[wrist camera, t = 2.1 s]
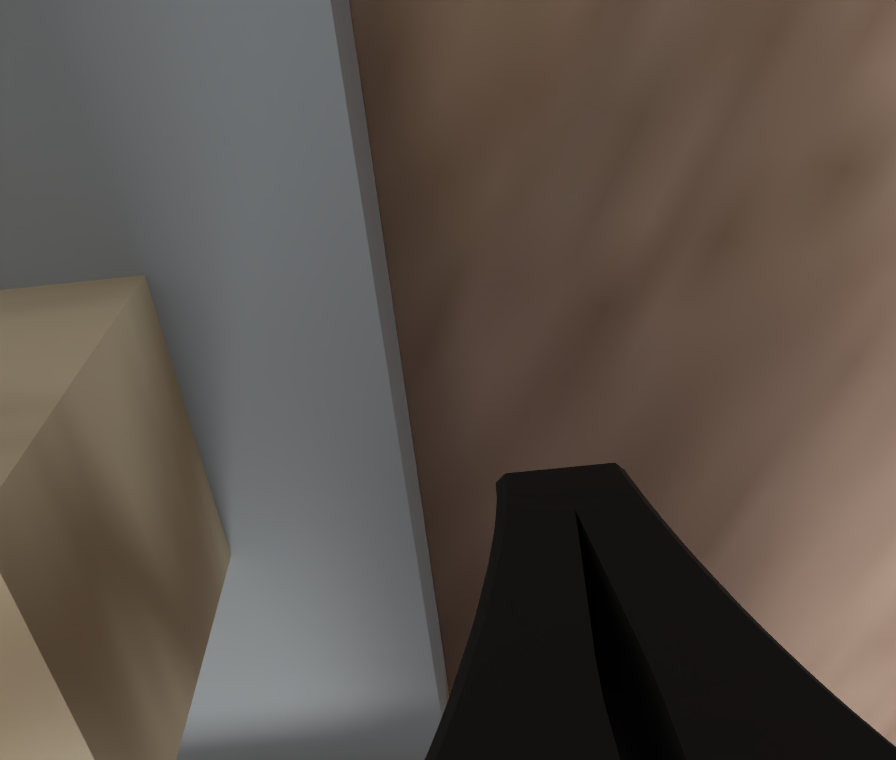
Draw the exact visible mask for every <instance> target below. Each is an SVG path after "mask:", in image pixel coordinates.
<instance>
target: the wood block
mask: <svg viewBox="0 0 896 760" xmlns="http://www.w3.org/2000/svg"><path fill="white" fill-rule="evenodd" d="M230 558H231V554H230V551H229V547H228V544H227V541H226V538H225V534H224V531H223V528H222V525H221V521H220V518H219V515H218V512H217V508H216V505H215V502H214V499H213V495H212V492H211V489H210V486H209V482H208V479H207V476H206V473H205V469H204V466H203V463H202V460H201V456H200V453H199V450H198V447H197V443H196V440H195V437H194V434H193V430H192V427H191V424H190V421H189V417H188V414H187V411H186V408H185V404H184V401H183V398H182V395H181V391H180V388H179V385H178V382H177V378H176V375H175V372H174V369H173V366H172V362H171V359H170V356H169V353H168V349H167V346H166V343H165V340H164V336H163V333H162V330H161V327H160V323H159V320H158V317H157V314H156V310H155V307H154V304H153V301H152V297H151V294H150V291H149V288H148V284H147V281H146V278H145V275H140V276H130V277H121V278H111V279H101V280H92V281H82V282H73V283H63V284H54V285H44V286H34V287H25V288H15V289H6V290H0V760H176V759H177V755H178V751H179V748H180V744H181V740H182V736H183V733H184V729H185V725H186V722H187V718H188V714H189V710H190V707H191V703H192V699H193V696H194V692H195V688H196V684H197V681H198V677H199V673H200V670H201V666H202V662H203V658H204V655H205V651H206V647H207V644H208V640H209V636H210V632H211V629H212V625H213V621H214V618H215V614H216V610H217V606H218V603H219V599H220V595H221V592H222V588H223V584H224V580H225V577H226V573H227V569H228V566H229V562H230Z"/></svg>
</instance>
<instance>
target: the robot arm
mask: <svg viewBox="0 0 896 760" xmlns="http://www.w3.org/2000/svg"><path fill="white" fill-rule="evenodd" d="M496 492H497V508H496V521H495V529H494V536H493V542H492V547H491V553H490V559H489V564H488V568H487V572H486V576H485V580H484V584H483V588H482V592H481V596H480V600H479V604H478V608H477V612H476V616H475V620H474V623H473V627H472V630H471V633H470V636H469V639H468V642H467V645H466V648H465V651H464V654H463V658H462V661H461V664H460V667H459V670H458V673H457V676H456V679H455V682H454V685H453V688H452V691H451V694H450V697H449V699H448V702H447V705H446V707H445V710H444V713H443V715H442V718H441V720H440V723H439V726H438V728H437V731H436V733H435V736H434V738H433V741H432V743H431V746H430V748H429V751H428V753H427V755H426V758H425V760H896V747H895V746H894V745H893V744H891V743H890V742H889V741H888V740H887V739H886V738H884V737H883V736H882V735H881V734H880V733H878V732H877V731H876V730H875V729H874V728H872V727H871V726H870V725H869V724H868V723H866V722H865V721H864V720H863V719H862V718H860V717H859V716H858V715H857V714H856V713H854V712H853V711H852V710H851V709H850V708H849V707H848V706H846V705H845V704H844V703H843V702H842V701H841V700H840V699H838V698H837V697H836V696H835V695H834V694H833V693H832V692H831V691H829V690H828V689H827V688H826V687H825V686H824V685H823V684H822V683H821V682H819V681H818V680H817V679H816V678H815V677H814V676H813V675H812V674H811V673H810V672H809V671H807V670H806V669H805V668H804V667H803V666H802V665H801V664H800V663H799V662H798V661H797V660H796V659H795V658H794V657H793V656H792V655H791V654H789V653H788V652H787V651H786V650H785V649H784V648H783V647H782V646H781V645H780V644H779V643H778V642H777V641H776V640H775V639H774V638H773V637H772V636H771V635H770V634H769V633H768V632H766V631H765V630H764V629H763V628H762V627H761V626H760V624H759V623H758V622H757V621H756V620H755V619H754V618H753V617H752V616H751V615H750V614H749V613H748V612H747V611H746V610H745V609H744V608H743V607H742V606H741V605H740V604H739V603H738V602H737V601H736V600H735V599H734V598H733V597H732V596H731V595H730V594H729V593H728V591H727V590H726V589H725V588H724V587H723V586H722V585H721V584H720V583H719V582H718V581H717V580H716V579H715V578H714V577H713V575H712V574H711V573H710V572H709V571H708V570H707V569H706V568H705V567H704V566H703V565H702V564H701V563H700V562H699V560H698V559H697V558H696V557H695V556H694V555H693V554H692V553H691V551H690V550H689V549H688V548H687V547H686V546H685V545H684V543H683V542H682V541H681V540H680V539H679V538H678V536H677V535H676V534H675V533H674V532H673V531H672V529H671V528H670V527H669V526H668V525H667V523H666V522H665V521H664V520H663V519H662V518H661V516H660V515H659V514H658V513H657V511H656V510H655V509H654V508H653V507H652V505H651V504H650V503H649V502H648V500H647V499H646V498H645V496H644V495H643V494H642V493H641V491H640V490H639V489H638V487H637V486H636V485H635V484H634V482H633V481H632V480H631V478H630V477H629V475H628V474H627V473H626V471H625V470H624V469H622V468H621V467H620V466H619V465H617V464H616V463H607V464H597V465H587V466H577V467H567V468H557V469H547V470H537V471H527V472H517V473H507V474H504V475H503V476H502V477H501V478H500V479H499V480H498V481H497V482H496Z"/></svg>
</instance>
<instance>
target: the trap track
mask: <svg viewBox="0 0 896 760" xmlns="http://www.w3.org/2000/svg"><path fill="white" fill-rule="evenodd" d="M140 275H145V278H146V281H147V284H148V288H149V291H150V294H151V297H152V301H153V304H154V307H155V310H156V314H157V317H158V320H159V323H160V327H161V330H162V333H163V336H164V340H165V343H166V346H167V349H168V353H169V356H170V359H171V362H172V366H173V369H174V372H175V375H176V378H177V382H178V385H179V388H180V391H181V395H182V398H183V401H184V404H185V408H186V411H187V414H188V417H189V421H190V424H191V427H192V430H193V434H194V437H195V440H196V443H197V447H198V450H199V453H200V456H201V460H202V463H203V466H204V469H205V473H206V476H207V479H208V482H209V486H210V489H211V492H212V495H213V499H214V502H215V505H216V508H217V512H218V515H219V518H220V521H221V525H222V528H223V531H224V534H225V538H226V541H227V544H228V547H229V551H230V554H231V558H230V562H229V566H228V569H227V573H226V577H225V580H224V584H223V588H222V592H221V595H220V599H219V603H218V606H217V610H216V614H215V618H214V621H213V625H212V629H211V632H210V636H209V640H208V644H207V647H206V651H205V655H204V658H203V662H202V666H201V670H200V673H199V677H198V681H197V684H196V688H195V692H194V696H193V699H192V703H191V707H190V710H189V714H188V718H187V722H186V725H185V729H184V733H183V736H182V740H181V744H180V748H179V751H178V755H177V759H176V760H425V758H426V755H427V753H428V751H429V748H430V746H431V743H432V741H433V738H434V736H435V733H436V731H437V728H438V726H439V723H440V720H441V718H442V715H443V713H444V710H445V707H446V705H447V702H448V699H449V689H448V682H447V675H446V668H445V661H444V654H443V647H442V641H441V634H440V627H439V620H438V613H437V606H436V599H435V592H434V585H433V578H432V571H431V565H430V558H429V551H428V544H427V537H426V530H425V523H424V516H423V509H422V502H421V495H420V489H419V482H418V475H417V468H416V461H415V454H414V447H413V440H412V433H411V426H410V419H409V413H408V406H407V399H406V392H405V385H404V378H403V371H402V364H401V357H400V350H399V343H398V336H397V330H396V323H395V316H394V309H393V302H392V295H391V288H390V281H389V274H388V267H387V260H386V254H385V247H384V240H383V233H382V226H381V219H380V212H379V205H378V198H377V191H376V184H375V178H374V171H373V164H372V157H371V150H370V143H369V136H368V129H367V122H366V115H365V108H364V102H363V95H362V88H361V81H360V74H359V67H358V60H357V53H356V46H355V39H354V32H353V25H352V19H351V12H350V5H349V0H0V290H6V289H15V288H25V287H34V286H44V285H54V284H63V283H73V282H82V281H92V280H101V279H111V278H121V277H130V276H140Z"/></svg>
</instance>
